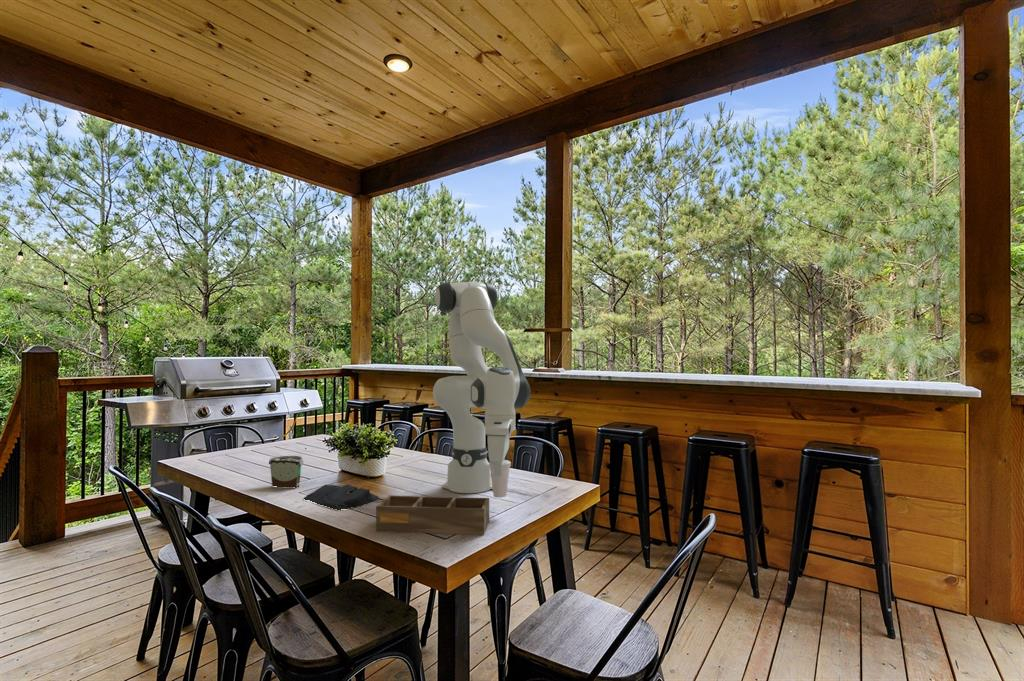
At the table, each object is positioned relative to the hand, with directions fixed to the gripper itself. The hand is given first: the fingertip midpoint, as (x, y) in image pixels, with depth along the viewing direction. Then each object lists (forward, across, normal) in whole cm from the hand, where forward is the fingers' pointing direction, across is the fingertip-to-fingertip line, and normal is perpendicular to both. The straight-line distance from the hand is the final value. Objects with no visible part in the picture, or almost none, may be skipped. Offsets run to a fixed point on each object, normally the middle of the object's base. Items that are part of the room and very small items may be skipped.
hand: (499, 471), depth 143 cm
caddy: (+13, +10, -17) cm, 23 cm away
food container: (+14, -26, -78) cm, 83 cm away
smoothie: (+7, 0, 0) cm, 7 cm away
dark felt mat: (+14, -12, -52) cm, 56 cm away
